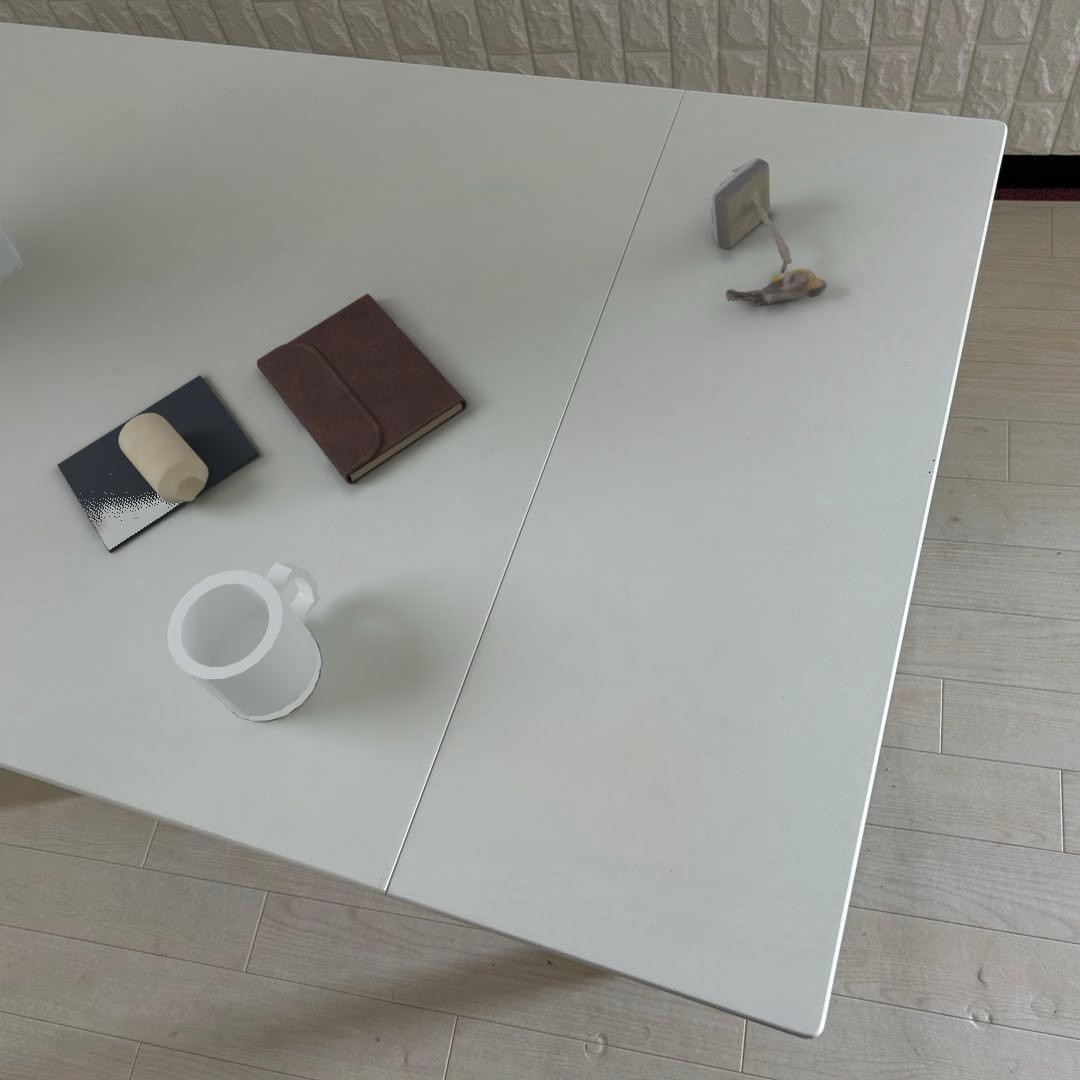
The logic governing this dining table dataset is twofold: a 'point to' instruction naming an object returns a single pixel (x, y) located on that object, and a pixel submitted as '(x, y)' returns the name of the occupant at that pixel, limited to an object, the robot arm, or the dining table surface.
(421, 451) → the dining table surface
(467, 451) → the dining table surface
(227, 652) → the mug
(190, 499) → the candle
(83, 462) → the mat
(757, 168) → the decorative sculpture
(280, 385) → the notebook
